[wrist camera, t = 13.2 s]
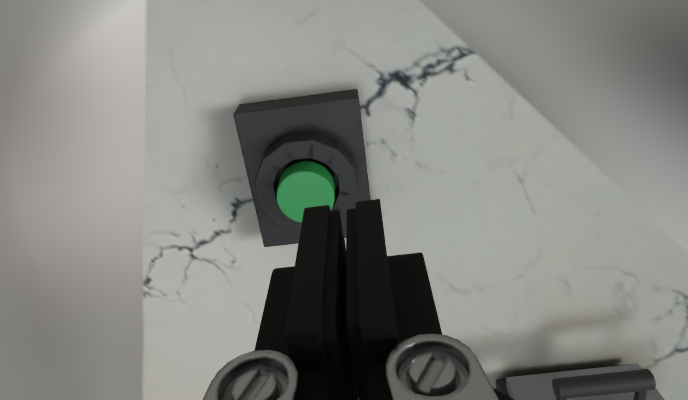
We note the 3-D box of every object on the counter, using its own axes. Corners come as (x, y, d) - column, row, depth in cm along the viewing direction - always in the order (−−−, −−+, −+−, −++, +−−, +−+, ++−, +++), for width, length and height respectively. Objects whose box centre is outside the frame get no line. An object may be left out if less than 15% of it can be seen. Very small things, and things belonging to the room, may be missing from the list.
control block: (239, 104, 33) (227, 122, 30) (357, 89, 33) (359, 105, 29) (268, 232, 38) (260, 261, 34) (372, 219, 37) (376, 247, 34)
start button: (274, 164, 31) (271, 174, 30) (330, 157, 31) (330, 167, 30) (284, 213, 33) (281, 226, 31) (338, 207, 33) (338, 220, 31)
